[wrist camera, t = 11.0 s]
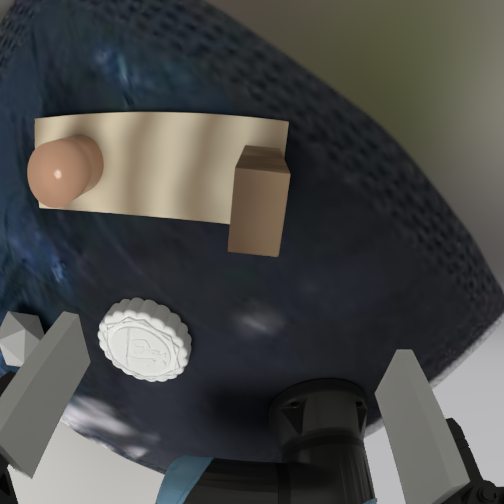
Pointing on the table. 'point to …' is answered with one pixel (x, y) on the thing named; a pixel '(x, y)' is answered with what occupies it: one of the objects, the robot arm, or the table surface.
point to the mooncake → (145, 339)
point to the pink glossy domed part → (64, 169)
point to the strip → (187, 170)
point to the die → (19, 337)
